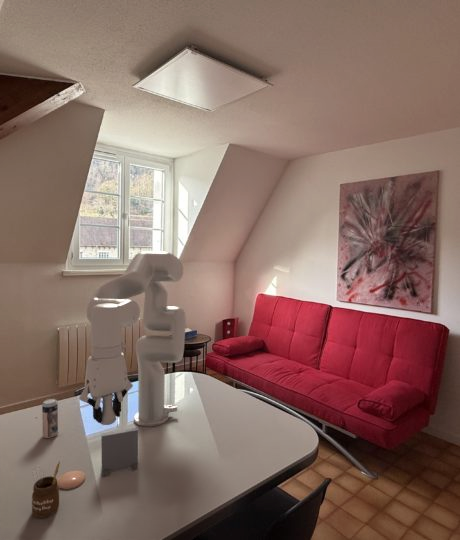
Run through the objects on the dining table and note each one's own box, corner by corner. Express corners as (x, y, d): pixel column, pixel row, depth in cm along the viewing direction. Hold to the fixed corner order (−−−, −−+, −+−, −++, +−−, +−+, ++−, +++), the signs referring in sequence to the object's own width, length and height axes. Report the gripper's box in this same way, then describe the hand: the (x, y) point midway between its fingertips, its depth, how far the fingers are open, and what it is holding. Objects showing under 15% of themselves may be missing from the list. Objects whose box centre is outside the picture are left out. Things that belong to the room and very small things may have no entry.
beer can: (51, 440, 121) (51, 404, 120) (39, 438, 122) (38, 403, 121) (61, 432, 125) (60, 398, 125) (49, 431, 126) (48, 397, 125)
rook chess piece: (98, 419, 99) (97, 390, 98) (115, 416, 100) (115, 388, 100) (99, 427, 94) (99, 397, 94) (117, 423, 96) (117, 394, 96)
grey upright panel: (136, 459, 110) (136, 424, 110) (138, 469, 106) (138, 432, 105) (101, 467, 107) (101, 430, 106) (102, 477, 102) (102, 439, 101)
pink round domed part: (84, 470, 105) (84, 468, 105) (85, 485, 98) (85, 483, 98) (58, 475, 102) (57, 473, 102) (56, 491, 96) (56, 489, 96)
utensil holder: (38, 501, 92) (38, 456, 91) (64, 501, 92) (63, 455, 92) (27, 519, 86) (26, 470, 85) (54, 518, 87) (53, 470, 86)
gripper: (130, 342, 104) (130, 404, 106) (68, 353, 93) (69, 422, 95) (142, 348, 99) (142, 413, 100) (78, 361, 88) (80, 434, 89)
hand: (107, 417), depth 97 cm, fingers closed on rook chess piece, 4 cm apart
